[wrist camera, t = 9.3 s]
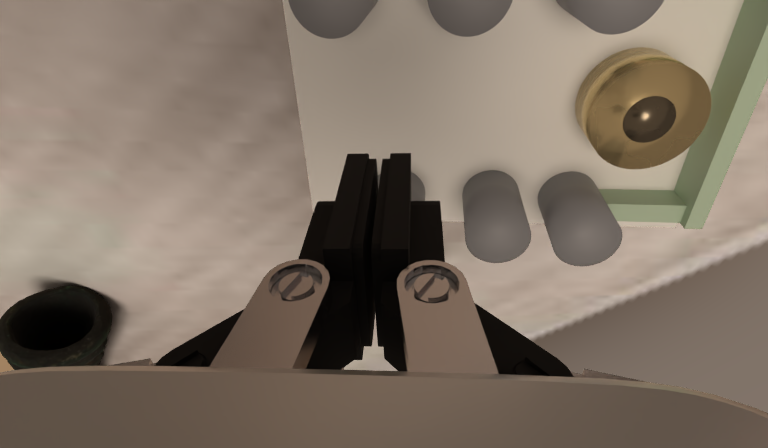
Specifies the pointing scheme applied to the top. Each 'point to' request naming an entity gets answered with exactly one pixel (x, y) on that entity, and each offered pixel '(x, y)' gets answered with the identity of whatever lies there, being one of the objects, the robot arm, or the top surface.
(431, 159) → the board
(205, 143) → the top surface
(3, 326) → the tool
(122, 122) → the top surface
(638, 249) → the top surface
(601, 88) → the gold short round piece
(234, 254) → the top surface
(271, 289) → the robot arm
